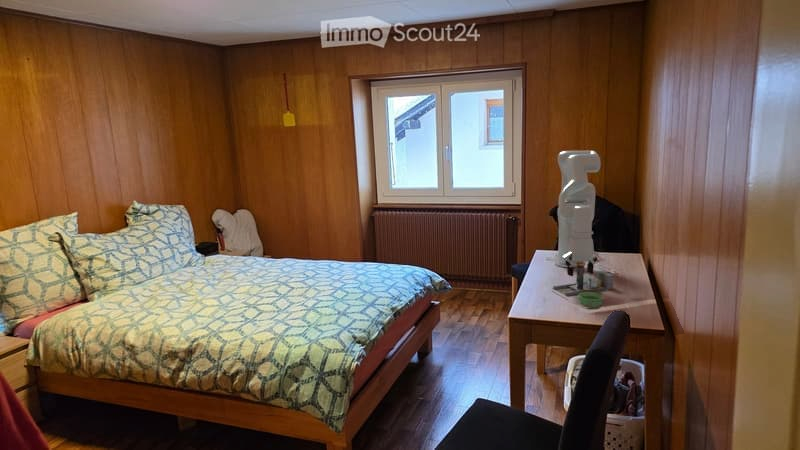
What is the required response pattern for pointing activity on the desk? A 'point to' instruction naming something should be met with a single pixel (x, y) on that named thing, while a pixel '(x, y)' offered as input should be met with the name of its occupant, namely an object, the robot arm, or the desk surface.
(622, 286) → the desk surface
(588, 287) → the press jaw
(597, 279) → the beige rounded dome
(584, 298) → the ramekin
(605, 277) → the press frame
